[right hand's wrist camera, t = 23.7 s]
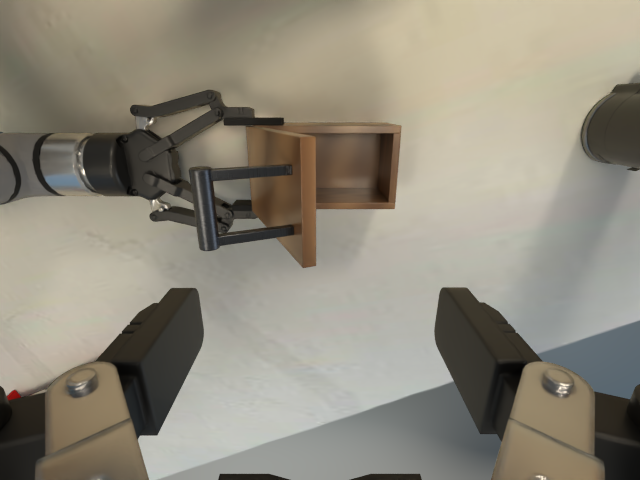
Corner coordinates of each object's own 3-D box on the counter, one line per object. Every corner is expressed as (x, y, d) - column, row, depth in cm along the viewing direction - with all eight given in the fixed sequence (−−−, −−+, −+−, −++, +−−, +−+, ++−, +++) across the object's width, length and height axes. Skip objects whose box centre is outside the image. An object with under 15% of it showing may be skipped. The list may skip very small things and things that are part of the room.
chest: (386, 122, 46) (401, 125, 37) (382, 192, 49) (394, 209, 41) (264, 122, 46) (251, 125, 37) (268, 192, 49) (257, 209, 41)
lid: (315, 136, 22) (186, 140, 19) (316, 265, 26) (206, 286, 23) (255, 125, 37) (176, 127, 34) (261, 209, 40) (189, 218, 37)
